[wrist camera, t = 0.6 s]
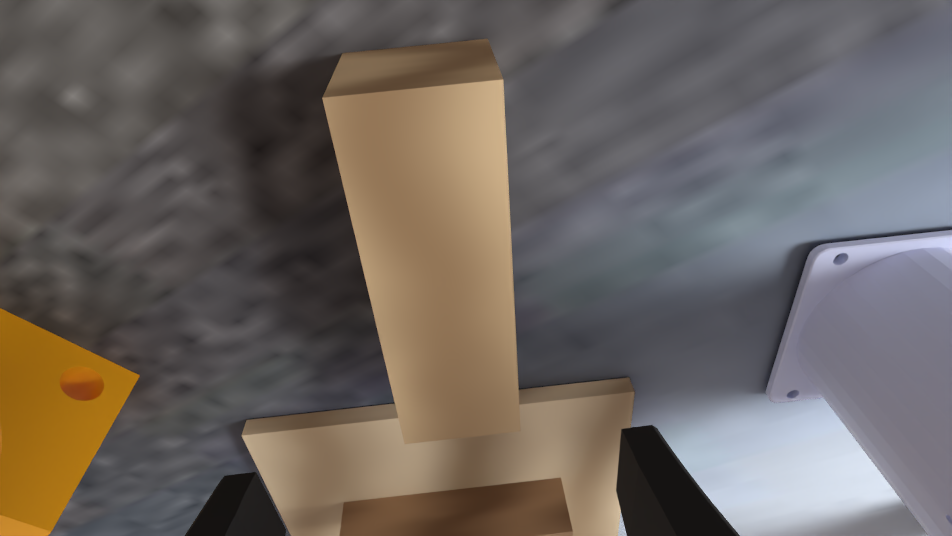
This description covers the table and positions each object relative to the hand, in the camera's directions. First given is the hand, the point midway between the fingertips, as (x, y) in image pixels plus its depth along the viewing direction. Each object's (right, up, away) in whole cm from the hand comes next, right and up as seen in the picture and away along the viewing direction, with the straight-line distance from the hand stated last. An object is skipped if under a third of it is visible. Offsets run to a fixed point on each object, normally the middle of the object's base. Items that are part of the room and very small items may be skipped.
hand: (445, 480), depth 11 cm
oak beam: (-1, +6, +8) cm, 10 cm away
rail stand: (0, -9, +17) cm, 19 cm away
